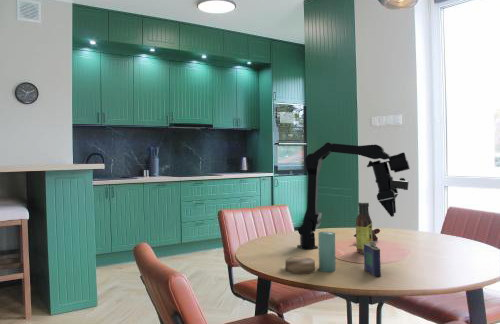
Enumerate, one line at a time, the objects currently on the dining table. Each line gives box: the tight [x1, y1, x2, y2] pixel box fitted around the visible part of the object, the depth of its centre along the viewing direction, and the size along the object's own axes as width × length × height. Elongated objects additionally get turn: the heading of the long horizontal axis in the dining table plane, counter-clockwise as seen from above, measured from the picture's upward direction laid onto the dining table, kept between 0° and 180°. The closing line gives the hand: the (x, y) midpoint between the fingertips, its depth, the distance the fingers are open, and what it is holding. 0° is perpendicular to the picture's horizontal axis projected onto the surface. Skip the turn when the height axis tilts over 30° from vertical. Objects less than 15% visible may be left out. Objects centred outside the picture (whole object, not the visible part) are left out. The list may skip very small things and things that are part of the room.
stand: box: [284, 256, 316, 275], centre depth 136 cm, size 10×10×3 cm
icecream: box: [353, 228, 381, 241], centre depth 176 cm, size 7×7×15 cm
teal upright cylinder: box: [317, 231, 337, 273], centre depth 136 cm, size 6×6×12 cm
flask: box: [363, 240, 382, 278], centre depth 131 cm, size 9×3×11 cm, turn 8°
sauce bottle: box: [355, 201, 373, 254], centre depth 159 cm, size 7×6×20 cm
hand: (393, 214), depth 154 cm, fingers open, 9 cm apart
